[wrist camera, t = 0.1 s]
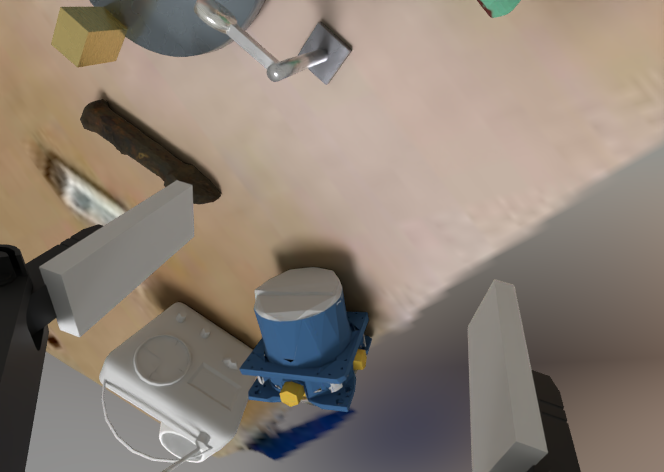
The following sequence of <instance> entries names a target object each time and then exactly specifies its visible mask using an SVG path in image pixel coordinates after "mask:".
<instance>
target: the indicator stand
mask: <svg viewBox="0 0 664 472" xmlns="http://www.w3.org/2000/svg"><path fill="white" fill-rule="evenodd" d="M194 11H195V13H196V14H197V16H198V17H199V18H200V19H201V20H202V21H203V22H205V23H206V24H207V25H209V26H210V27H212V28H213V29H215V30H217V31H219V32H222V33H224V34H227V35H228V36H229V37H231V38H232V39H233V40H234V41H235V42H236V43H237V44H239V45H240V46H241V47H242V48H243V49H244V50H245V51H247V52H248V53H249V54H250V55H251V56H252V57H253V58H255V59H256V60H257V61H258V62H259V63H260V64H261V65H263V66H264V67H265V68H266V69H267V76H268V78H269V79H270V80H271V81H274V82H277V81H280V80H282V79H284V78H287V77H289V76H291V75H293V74H296V73H298V72H300V71H303V70H305V69H307V68H308V69H309V70H310V71H311V72H312V73H313V74H314V75H316V76H317V77H318V78H319V79H320V80H321V81H322V82H323V83H324V84H326V85H327V84H328V83H329V82H330V81H331V80H332V78H333V77H334V75H335V74H336V72H337V71H338V70H339V68H340V67H341V65H342V64H343V63H344V61H345V60H346V58H347V57H348V56H349V54H350V53H351V51H352V50H351V49H350V48H349V47H348V46H347V45H345V44H344V43H343V42H342V41H341V40H340V39H339V38H338V37H337V36H336V35H335V34H333V33H332V32H331V31H330V30H329V29H328V28H327V27H326V26H325V25H324V24H323V23H322V22H319V23H318V24H317V25H316V27H315V29H314V30H313V32H312V33H311V35H310V37H309V38H308V40H307V41H306V43H305V45H304V46H303V48H302V49H301V51H300V53H299V54H298V56H296V57H293V58H290V59H287V60H284V61H281V62H279V61H278V60H277V59H276V58H275V57H274V56H272V55H271V54H270V53H269V52H268V51H267V50H266V49H265V48H263V47H262V46H261V45H260V44H259V43H258V42H257V41H256V40H254V39H253V38H252V37H251V36H250V35H249V34H248V33H246V32H245V31H244V30H243V29H242V28H241V27H240V26H239V25H237V19H236V18H235V16H234V15H233V14H232V13H231V12H230V11H229V10H228V9H227V8H226V7H224V6H223V5H222V4H220V3H219V2H217V1H215V0H197V1H196V3H195V6H194Z"/></svg>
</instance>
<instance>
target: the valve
mask: <svg viewBox="0 0 664 472" xmlns="http://www.w3.org/2000/svg"><path fill="white" fill-rule="evenodd" d="M255 298H256V301H255V305H254V311H255V314H256V317H257V320H258V324H259V327H260V330H261V334H262V339H261V340H260V341H259V343H258V344H257V345H256V347H255V348H254V349H253V351H252V352H251V353H250V355H249V356H248V357H247V359H246V360H245V361H244V363H243V364H242V365H241V367H240V368H239V370H240V372H241V374H242V375H250V376H257V379H256V381H255V382H254V383H253V385H252V386H251V388H250V389H249V391H248V399H249V400H257V401H265V402H283V403H285V404H287V405H288V406H290V407H291V406H294V405H297V404H299V402H301V403H306V404H310V405H315V406H318V407H320V408H321V409H328V410H336V411H345V412H348V410H349V407H350V404H351V401H352V398H353V395H354V392H355V385H356V377H355V374H356V372H357V370H363V369H364V368H365V366H366V358H367V357H366V355H367V354H368V351H369V347H370V344H371V341H372V338H370V337H369V336H365V335H364V331H365V329H366V326H367V323H368V321H369V318H368V312H346V307H345V301H344V295H343V289H342V285H341V282H340V280H339V278H338V277H337V276H336V274H335V273H334V271H333V270H327V269H322V268H316V267H309V268H300V269H291V270H288V271H286V272H284V273H282V274H280V275H278V276H275V277H273V278H271V279H269V280H268V281H266V282H265V283H264V284H262V285H261V286H259V287H258V288H257V289H255Z"/></svg>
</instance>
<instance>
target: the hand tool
mask: <svg viewBox="0 0 664 472" xmlns="http://www.w3.org/2000/svg"><path fill="white" fill-rule="evenodd" d="M80 120H81V123H82V125H83V127H84V129H87V130H89V131H92V132H96V133H98V134H99V135H100V136H102V137H103V138H105V139H106V140H108V141H109V142H110V143H112V144H113V145H114V146H115V147H116V149H117V150H119V151H120V152H121V154H125V155H128V156H130V157H131V158H133V159H134V160H136V161H137V162H139V163H140V164H141V165H143V166H144V167H146V168H147V169H149V170H150V171H152V172H153V173H155V174H156V175H157V176H159V177H161V178H162V180H163V181H165V182H164V186H165V187H167V186H168V185H170V184H172V183H173V182H175V181H176V180H178V181H181V182H184V183H187V184H191V185H192V187H193V203H194V204H205V203H210V202H214V201H216V200H217V199H218V198H219V197H220V196H221V195H220V193H219V191H218V190H217V188H216V187H215V186H214V185H213V184H212V183H211V182H210V181H209V180H208V179H207V178H206V177H205V176H204V175H203V174H201V173H200V172H199V171H198V170H197V169H196V168H195V167H194V166H193V165H191V164H188V165H187V164H185V163H183V162H181V161H180V160H179V159H177V158H176V157H174V156H173V155H172V154H171V153H170V152H168V151H167V150H166V149H164V148H163V147H162V146H161V145H160V144H158V143H157V142H155V141H153V140H152V139H150V138H149V137H147V136H146V135H145V134H143V133H142V132H141V131H140V130H139V129H137V128H136V127H134V126H133V125H132V124H131V123H129V122H127V121H126V120H125V119H123V118H122V117H120V116H119V115H117V114H116V113H114V112H113V111H112V110H111V109H109V107H108V102H107V101H105V100H104V99H102V100H98V101H94V102H91V103H89V104H88V105H87V106H86V107H85V108H84V110H83V113H82V116H81V118H80Z"/></svg>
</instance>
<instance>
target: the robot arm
mask: <svg viewBox="0 0 664 472" xmlns="http://www.w3.org/2000/svg"><path fill="white" fill-rule="evenodd" d="M193 237H194V215H193V187H192V185H191V184H187V183H184V182H181V181H178V180H176V181H175V182H173V183H172V184H170V185H168V186H167V187H165V188H164V189H162V190H160V191H159V192H157V193H156V194H154V195H152V196H151V197H149V198H148V199H146V200H145V201H143V202H141V203H140V204H138V205H137V206H135V207H133V208H132V209H130V210H129V211H127V212H125V213H124V214H122V215H121V216H119V217H117V218H116V219H114V220H113V221H111V222H110V223H108V224H106V225H105V226H102V225H99V224H98V225H95V226H92V227H89V228H86V229H83V230H81V231H80V232H78V233H76V234H75V235H73V236H71V238H70V239H69V238H68V239H66V240H65V241H63V242H61V244H60V245H56V246H55V247H53V248H51V249H50V250H48V251H46V252H45V253H43V254H42V255H40V256H38V257H37V258H35V259H33V260H32V261H30V262H28V263H27V264H25V262H24V259H23V257H22V254H21V251H20V250H19V249H18V248H17V247H15V246H11V245H0V472H25V467H26V461H27V455H28V450H29V444H30V438H31V432H32V426H33V421H34V415H35V409H36V403H37V398H38V392H39V386H40V380H41V374H42V369H43V363H44V357H45V352H46V346H47V340H48V334H49V330H48V325H47V324H49V323H50V322H51V321H52V320H54V319H55V318H56V319H57V322H58V325H59V327H60V330H62V331H65V332H67V333H70V334H73V335H75V336H78V337H81V336H82V335H83V334H84V333H85V332H86V331H88V330H89V329H90V328H91V327H92V326H93V325H94V324H96V323H97V322H98V321H99V320H100V319H101V318H102V317H103V316H105V315H106V314H107V313H108V312H109V311H110V310H111V309H113V308H114V307H115V306H116V305H117V304H118V303H119V302H120V301H122V300H123V299H124V298H125V297H126V296H127V295H128V294H129V293H131V292H132V291H133V290H134V289H135V288H136V287H137V286H139V285H140V284H141V283H142V282H143V281H144V280H145V279H146V278H148V277H149V276H150V275H151V274H152V273H153V272H154V271H156V270H157V269H158V268H159V267H160V266H161V265H162V264H163V263H165V262H166V261H167V260H168V259H169V258H170V257H171V256H173V255H174V254H175V253H176V252H177V251H178V250H179V249H180V248H182V247H183V246H184V245H185V244H186V243H187V242H188V241H189V240H191V239H192V238H193ZM468 350H469V382H470V383H469V384H470V416H471V449H472V472H581V471H580V467H579V464H578V460H577V456H576V452H575V448H574V444H573V440H572V437H571V433H570V429H569V425H568V423H567V418H566V414H565V411H564V410H563V408H564V406H563V402H562V399H561V395H560V392H559V390H558V388H557V387H556V385H555V384H554V382H553V381H552V379H551V378H550V376H548V375H544V374H542V373H539V372H536V371H533V370H531V366H530V361H529V356H528V351H527V346H526V341H525V336H524V331H523V326H522V321H521V316H520V311H519V306H518V302H517V296H516V291H515V286H514V285H512V284H509V283H505V282H502V281H499V280H496V279H495V280H494V281H493V283H492V284H491V286H490V288H489V290H488V292H487V293H486V295H485V297H484V299H483V301H482V303H481V304H480V306H479V308H478V309H477V311H476V313H475V315H474V317H473V319H472V320H471V322H470V324H469V326H468Z"/></svg>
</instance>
